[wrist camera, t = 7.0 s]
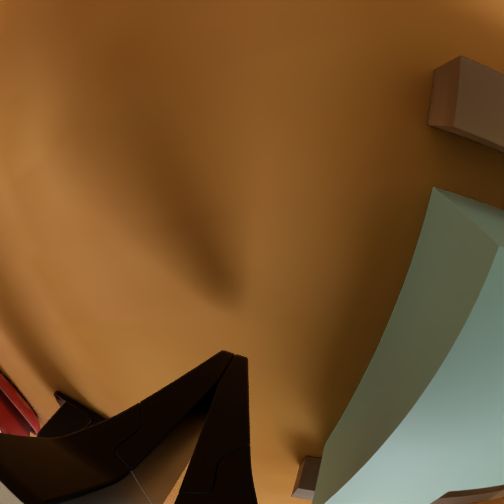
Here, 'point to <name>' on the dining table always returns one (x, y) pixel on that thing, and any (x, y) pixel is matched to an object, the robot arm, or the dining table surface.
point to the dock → (476, 129)
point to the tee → (431, 373)
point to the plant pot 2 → (15, 412)
